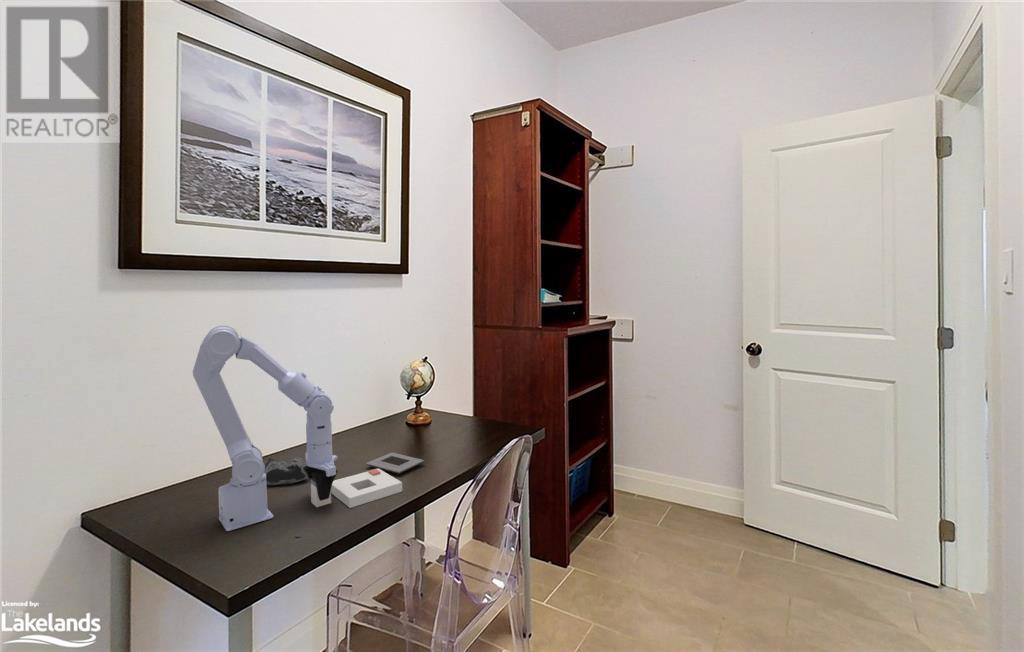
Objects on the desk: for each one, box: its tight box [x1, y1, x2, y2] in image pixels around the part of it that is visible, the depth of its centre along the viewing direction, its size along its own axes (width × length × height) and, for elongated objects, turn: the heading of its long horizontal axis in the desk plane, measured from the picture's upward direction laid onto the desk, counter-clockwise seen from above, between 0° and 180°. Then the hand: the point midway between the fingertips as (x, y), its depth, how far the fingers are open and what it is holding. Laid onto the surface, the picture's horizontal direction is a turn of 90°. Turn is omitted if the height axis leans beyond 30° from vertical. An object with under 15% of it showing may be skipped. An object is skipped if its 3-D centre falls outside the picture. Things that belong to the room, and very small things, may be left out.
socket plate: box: [331, 468, 403, 509], centre depth 124 cm, size 14×13×3 cm
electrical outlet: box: [365, 452, 425, 475], centre depth 140 cm, size 13×10×2 cm
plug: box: [309, 478, 332, 508], centre depth 117 cm, size 4×4×6 cm
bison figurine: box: [264, 457, 309, 486], centre depth 131 cm, size 12×7×10 cm
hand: (321, 496), depth 117 cm, fingers closed on plug, 3 cm apart
